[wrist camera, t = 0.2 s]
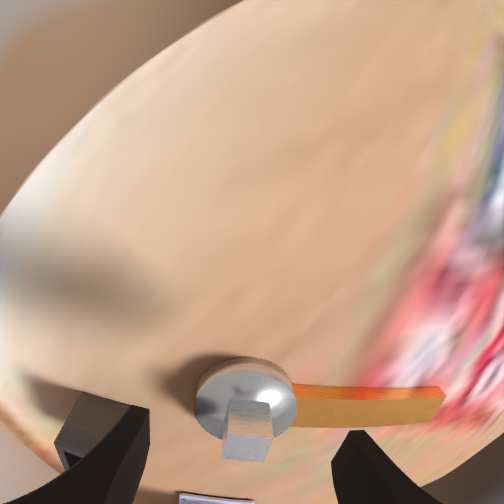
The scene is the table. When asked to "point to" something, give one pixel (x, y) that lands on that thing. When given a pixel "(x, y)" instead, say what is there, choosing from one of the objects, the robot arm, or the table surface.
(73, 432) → the hollow square tube
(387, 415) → the ratchet
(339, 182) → the table surface
